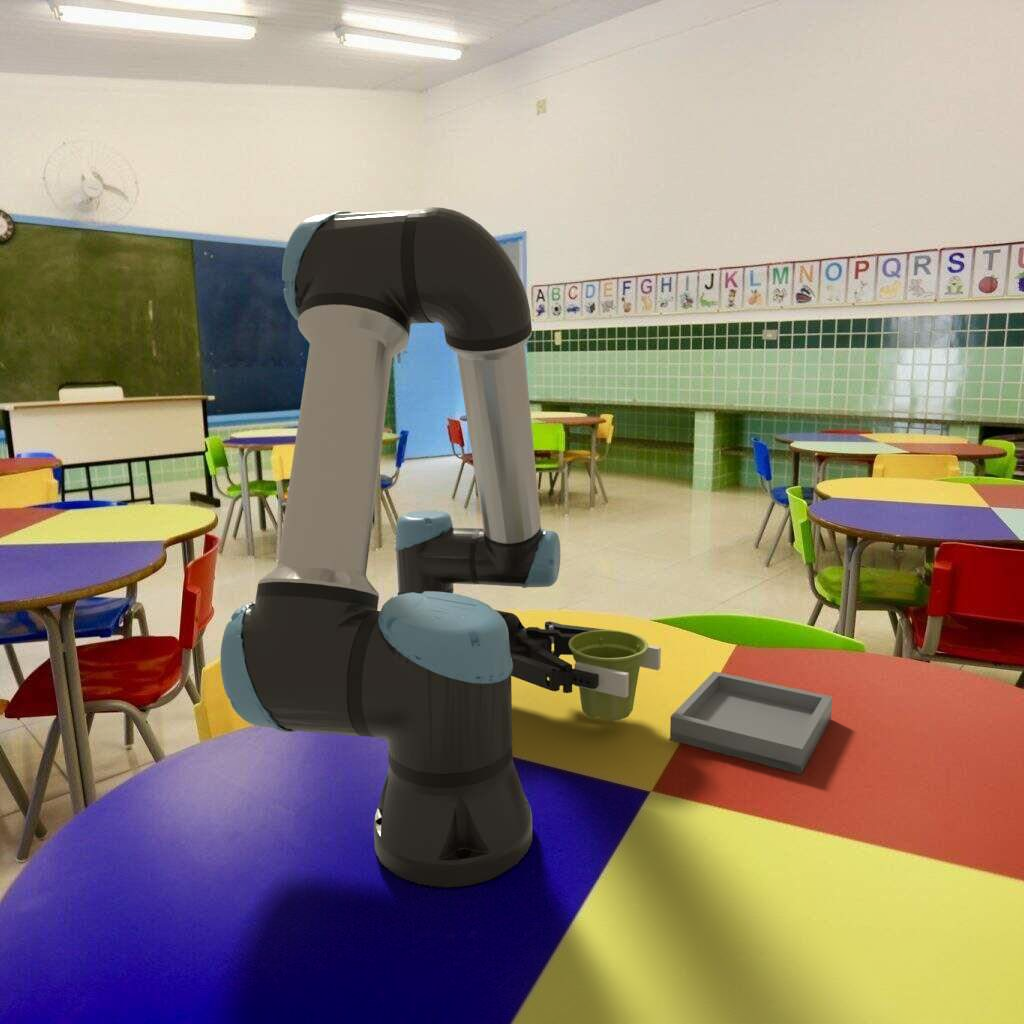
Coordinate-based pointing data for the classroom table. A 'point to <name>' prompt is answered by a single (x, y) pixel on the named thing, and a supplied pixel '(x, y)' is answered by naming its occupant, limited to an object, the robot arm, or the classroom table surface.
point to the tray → (753, 721)
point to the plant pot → (613, 654)
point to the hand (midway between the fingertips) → (643, 671)
